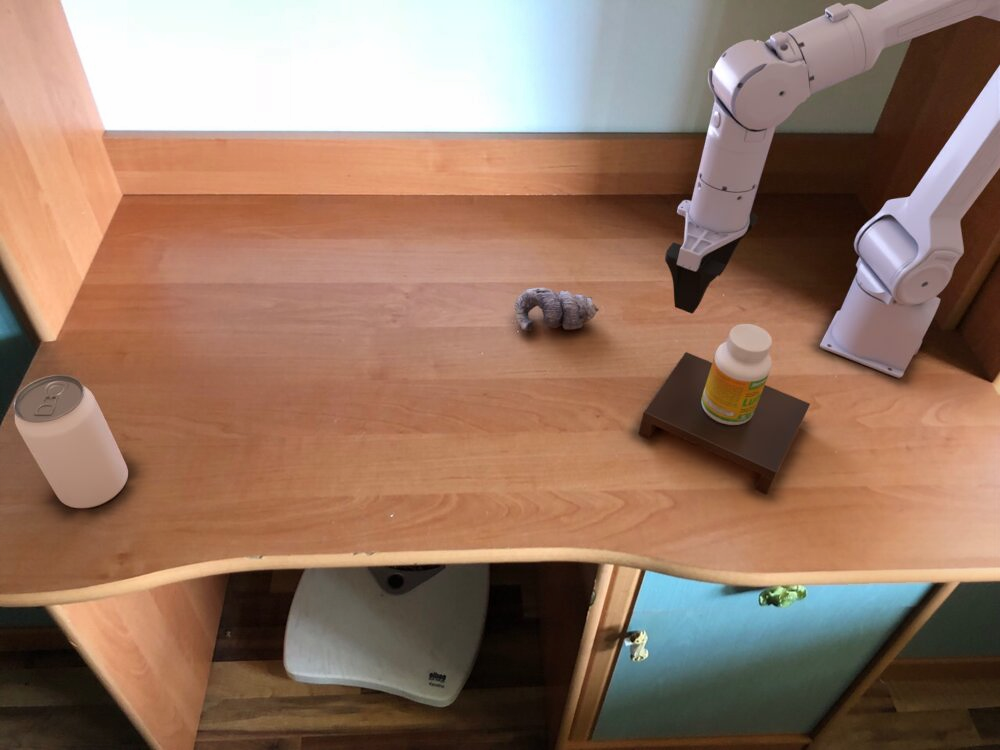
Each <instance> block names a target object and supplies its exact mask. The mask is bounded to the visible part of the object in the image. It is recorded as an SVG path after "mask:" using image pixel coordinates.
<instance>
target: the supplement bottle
mask: <svg viewBox="0 0 1000 750" xmlns="http://www.w3.org/2000/svg"><path fill="white" fill-rule="evenodd" d="M772 344H773V339H772V337H771V334H769V332H768V331H767V330H765V329H764V328H762V327H761V326H759V325H756V324H751V323H739V324H736V325H735V326H733V327H732V328H731V330H730V331H729V333H728V336H727V338H726V341H724V342H722V343H721V344H720V345H719V346H718V347H717V349H716V351H715V354H714V356H713V359H712V362H711V363H712V366H711V369H710V373H709V376H708V379H707V382H706V385H705V389H704V392H703V395H702V407H703V409H704V411H705V412H706V413H707V415H708V416H710V417H711V418H712V419H714V420H716V421H718V422H720V423H723V424H728V425H739V424H743V423H745V422H747V421H748V420H749V419H750V418H751V417H752V416H753V414H754V411H755V409H756V406H757V404H758V401H759V399H760V396H761V393H762V391H763V388H764V386H765V385H766V383H767V381H768V377H769V375H770V372H771V369H772V358H771V356H770V350H771V347H772Z"/></svg>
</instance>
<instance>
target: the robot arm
mask: <svg viewBox="0 0 1000 750" xmlns="http://www.w3.org/2000/svg"><path fill="white" fill-rule="evenodd" d="M824 11H825V13H824V14H823V15H821V16H819V17H816V18H814V19H812V20H809V21H807V22H805V23H802V24H800V25H798V26H795V27H793V28H791V29H789V30H787V31H784V32H783V31H777V32H776V33H774V34H771V35H770V37H769V39H767V40H766V41H762V40H759V39H757V40H754V39H745V40H742V41H739V42H737V43H735V44H733V45H732V46H730V47H729V48H727V49H726V50H725V51H724V52H723V53H722V54H721V55H720V57H719V58H718V60H717V62H716V64H715V66H714V67H712V68H709V69H708V72H707V83H708V86H709V89H710V91H711V93H712V94H713V97H714V100H713V101H714V102H713V107H712V110H711V111H712V112H711V117H710V120H709V125H708V129H707V133H706V137H705V141H704V142H705V143H704V146H703V150H702V154H701V159H700V163H699V169H698V172H697V175H696V176H697V177H696V180H695V184H694V188H693V193H692V197H691V200H689V199H684V200H682V201H681V202H680V203H679V205H678V206H677V210H676V213H677V215H679V216H682V217H684V219H685V220H684V221H685V222H684V234H683V244H680V243H676V242H672V243H671V244H670V245H669V247H668V248H667V249H666V251H665V256H664V261H665V263H666V265H667V267H668V269H669V271H670V275H671V279H672V283H673V284H672V287H673V301H674V307H675V308H677V309H679V310H681V311H684V312H687V313H689V314H694V313H695V312H696V310H697V309H698V308H699V306H700V304H701V302H702V300H703V298H704V296H705V294H706V291H707V289H708V287H709V285H710V284H711V283H712V282H713V281H714V280H715V279H716V278H717V277H720V276H722V273H724V271H725V269H726V268H727V265H728V264H729V262H730V261H731V258H732V256H733V254H734V253H735V251H736V249H737V247H738V245H739V244H740V242H741V240H742V239H743V238H744V237H745V236H746V235H747V234H748V233H749V232H751V230H752V229H753V228H754V226H755V225H756V224H757V222H758V219H759V217H758V215H757V214H756V213H755V212H754V211H752V208H753V206H754V203H755V202H754V201H755V199H756V195H757V191H758V188H759V185H760V181H761V178H762V174H763V171H764V168H765V164H766V160H767V157H768V154H769V151H770V147H771V144H772V141H773V137H774V134H775V131H776V128H777V126H779V125H782V123H784V121H786V120H787V119H788V118H789V117H790V116H791V115H792V114H793V112H794V111H795V109H796V108H797V107H798V106H799V105H801V104H802V103H805V102H807V99H808V98H810V97H811V96H812V95H814V94H816V93H819V92H821V91H823V90H825V89H829V88H830V87H832V86H835V85H837V84H840V83H842V82H844V81H846V80H849V79H852V78H854V77H856V76H858V75H860V74H863V73H865V72H867V71H869V70H871V69H872V68H873V67H874V65H875V64H876V62H877V60H878V58H879V56H880V55H881V52H882V51H883V50H885V49H887V48H890V47H892V46H895V45H898V44H901V43H903V42H906V41H909V40H912V39H914V38H917V37H920V36H923V35H926V34H928V33H931V32H935V31H937V30H940V29H942V28H945V27H948V26H951V25H954V24H956V23H959V22H961V21H965V20H967V19H970V18H973V17H977V16H980V17H983V18H987V19H989V20H995V21H998V22H1000V0H886V1H884V2H882V3H880V4H878V5H876V6H874V7H872V8H870V9H867V8H864V7H863V6H861V5H859V4H856V3H848V4H845V5H843V4H842V3H841V2H837V3H834V4H831V5H830V6H828V7H825V9H824ZM999 169H1000V65H999V66H998V67H997V68H996V70H995V72H993V74H992V76H991V77H990V79H988V81H987V83H986V85H985V86H984V87H983V89H982V91H981V92H980V93H979V95H978V96H977V98H976V99H975V101H974V102H973V103H972V105H971V106H970V108H969V109H968V110H967V112H966V114H965V115H964V117H963V118H962V119H961V121H960V122H959V123H958V125H957V127H956V129H955V130H954V131H953V133H952V134H951V135H950V137H949V138H948V140H947V142H946V143H945V144H944V146H943V147H942V148H941V150H940V151H939V153H938V154H937V156H936V157H935V159H934V160H933V161H932V163H931V165H930V166H929V167H928V169H927V171H926V172H925V173H924V174H923V176H922V177H921V179H920V181H919V182H918V183H917V185H916V187H915V188H914V190H912V192H911V194H910V196H905V197H897V198H892V199H888V200H887V201H885V203H884V204H883V206H882V208H881V209H880V210H879V211H878V212H877V213H876V214H875V215H874V216H873V217H872V218H870V219H869V220H868V221H866V222H865V223H864V225H863V226H861V228H860V229H859V230H858V232H857V233H856V236H855V238H854V242H853V247H854V251H855V253H856V254H857V255H858V256H859V257H858V259H857V262H856V264H855V267H856V268H857V271H856V274H855V276H854V278H853V280H852V283H851V285H850V287H849V290H848V292H847V294H846V296H845V298H844V301H843V303H842V306H841V307H840V310H837V311H836V312H835V315H834V317H833V319H832V320H831V323H830V324H829V326H828V329H827V330H826V332H825V333H824V336H823V338H822V340H821V342H820V344H819V347H820V349H823V350H825V351H828V352H831V353H833V354H836V355H837V356H838V355H839V356H840V357H842V358H843V357H844V358H846V359H848V360H851V361H854V362H856V363H859V364H861V365H864V366H866V367H869V368H871V369H874V370H877V371H879V372H881V373H883V374H886V375H890V376H892V377H895V378H897V379H901V378H902V377H903V376H904V374H905V371H906V370H907V368H908V366H909V364H910V362H911V360H912V359H913V356H914V355H917V354H918V352H919V350H920V348H921V345H922V344H923V339H924V337H925V335H926V334H927V331H928V329H929V327H930V325H931V323H932V322H933V319H934V317H935V315H936V313H937V310H938V309H939V306H940V303H941V298H939V297H938V295H939V294H941V292H943V291H944V289H946V287H947V286H948V284H949V283H950V282H951V281H950V280H951V279H952V277H953V273H954V268H955V266H956V264H957V263H958V261H959V260H960V258H961V257H962V256H963V255H964V253H965V247H964V241H963V240H964V239H963V234H962V227H961V220H962V219H963V217H964V216H965V215H966V213H967V212H968V211H969V209H971V207H972V205H973V204H974V203H975V201H976V200H977V199H978V198H979V196H980V195H981V194H982V192H983V191H984V189H985V188H986V187H987V185H988V184H989V183H990V181H992V179H993V177H994V176H995V174H996V173H997V172H998V171H999Z"/></svg>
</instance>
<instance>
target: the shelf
mask: <svg viewBox="0 0 1000 750" xmlns="http://www.w3.org/2000/svg"><path fill="white" fill-rule="evenodd" d="M712 363H713V362H711V361H709V360H706V359H704V358H703V357H699V356H697V355H695V354H693V353H689V352H688V351H685V352H684V353H683V355H682V357H681V358H680V360H678V362H677V363H676V365H675V367H674V368H673V369H672V371H671V372H670V373H669V375H668V376H667V378H666V379H665V380H664V382H663V383H662V385H661V386H660V388H659V389H658V390H657V392H656V393H655V395H654V397H653V398H652V400H651V401H650V402H649V403H648V405H647V407H646V408H645V410H644V411H643V413H642V417H641V421H640V426H639V428H638V429H639V430H638V435H639V436H641V437H643V438H645V439H650V438H651V436H652V435H653V433H654V432H655V430H656V429H657V427H658V428H660V429H662V430H664V431H666V432H668V433H670V434H673V435H674V436H676V437H679V438H681V439H683V440H685V441H687V442H690V443H692V444H694V445H697V446H698V447H701V448H703V449H705V450H707V451H710V452H712V453H713V454H716V455H718V456H721V457H722V458H725V459H727V460H729V461H731V462H733V463H735V464H737V465H739V466H741V467H744V468H746V469H749V470H750V471H753V472H755V473H756V474H760V477H759V479H758V480H757V484H756V486H755V490H756V491H759V492H761V493H763V494H765V495H767V494H768V493H769V490H770V488H771V487H772V484H773V482H774V480H775V478H776V476H777V474H778V472H779V471H780V468H781V466H782V464H783V463H784V460H785V458H786V456H787V454H788V452H789V450H790V448H791V446H792V444H793V442H794V441H795V439H796V436H797V434H798V431H799V430H800V427H801V425H802V423H803V421H804V419H805V416H806V414H807V412H808V410H809V408H810V405H811V403H809V402H807V401H805V400H802V399H799V398H797V397H795V396H793V395H791V394H788V393H785V392H784V391H781V390H778V389H776V388H773V387H772V386H768V385H766V384H765V386H764V388H763V391H762V393H761V396H760V399H759V401H758V404H757V406H756V409H755V411H754V414H753V416H752V417H751V418H750V419H749V420H748V421H747V422H745V423H743V424H739V425H728V424H723V423H720V422H718V421H716V420H714V419H712V418H711V417H710V416H708V415H707V413H706V412H705V411H704V409H703V407H702V395H703V392H704V389H705V385H706V382H707V379H708V376H709V373H710V369H711V366H712Z"/></svg>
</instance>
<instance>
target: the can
mask: <svg viewBox="0 0 1000 750" xmlns="http://www.w3.org/2000/svg"><path fill="white" fill-rule="evenodd" d="M12 410H13V413H14V424H15V426H16V429H17V431H18V433H19V435H20V436H21V438H22V440H23V441H24V443H25V445H26V446H27V448H28V450H29V451H30V453H31V455H32V457H33V459H34V460H35V462H36V464H37V465H38V467H39V468H40V470H41V472H42V474H43V475H44V477H45V479H46V480H47V482H48V485H49V486H50V487H51V489H52V490H53V492H54V493H55V495H56V497H57V498H58V500H59V501H60V502H61V503H62V504H63V505H65V506H67V507H70V508H75V509H91V508H95V507H98V506H101V505H104V504H105V503H108V502H109V501H111V500H112V499H114V498H115V497H116V496H117V495H118V494H119V493H120V492H121V491H122V490H123V488H124V486H125V485H126V483H127V481H128V477H129V470H128V465H127V464H126V463H127V462H126V461H125V458H124V457H123V455H122V453H121V451H120V449H119V446H118V444H117V442H116V439H115V438H114V435H113V432H112V431H111V428H110V426H109V424H108V422H107V420H106V418H105V416H104V414H103V412H102V410H101V408H100V406H99V403H98V402H97V400H96V397H95V396H94V394H93V392H92V391H91V390H90V389H89V388H87V387H86V386H84V384H83V383H82V381H81V380H80V379H79V378H77V377H76V376H73V375H69V374H52V375H46V376H42V377H39V378H38V379H35V380H33V381H31V382H29V383H28V384H26V385H24V387H23V388H21V389H20V391H18V393H16V395H15V397H14V399H13V402H12Z"/></svg>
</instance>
